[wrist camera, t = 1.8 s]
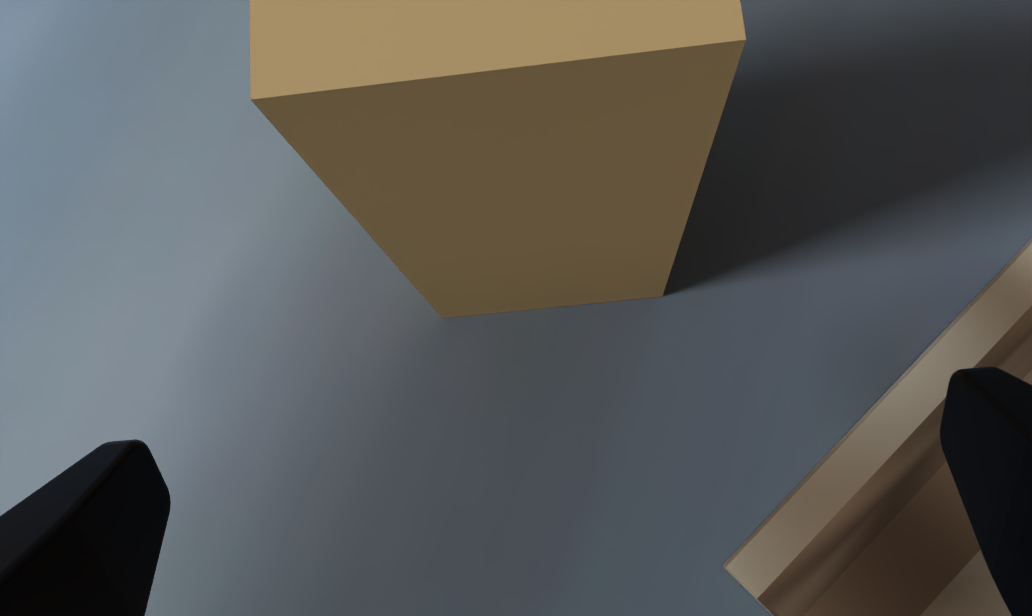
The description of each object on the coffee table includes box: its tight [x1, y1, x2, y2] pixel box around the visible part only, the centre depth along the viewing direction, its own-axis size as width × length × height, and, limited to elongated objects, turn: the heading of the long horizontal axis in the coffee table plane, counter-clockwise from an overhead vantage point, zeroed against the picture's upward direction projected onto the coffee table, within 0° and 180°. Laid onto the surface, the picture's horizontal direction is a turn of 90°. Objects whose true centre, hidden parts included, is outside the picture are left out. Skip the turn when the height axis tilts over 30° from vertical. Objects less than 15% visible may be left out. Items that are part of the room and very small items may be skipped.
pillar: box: [250, 0, 746, 318], centre depth 17 cm, size 5×6×13 cm
